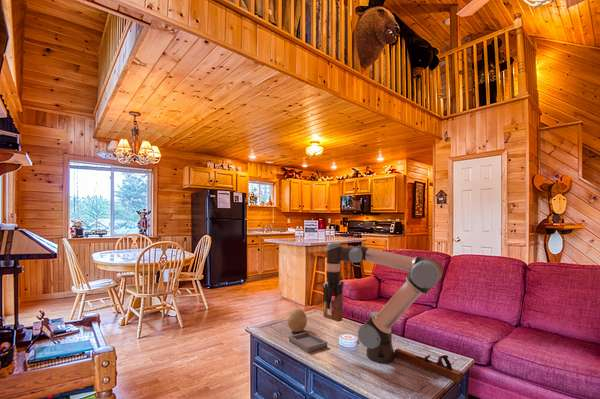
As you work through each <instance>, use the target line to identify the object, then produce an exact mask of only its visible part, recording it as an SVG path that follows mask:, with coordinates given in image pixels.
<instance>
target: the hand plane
mask: <svg viewBox="0 0 600 399" xmlns="http://www.w3.org/2000/svg"><path fill="white" fill-rule="evenodd" d="M394 353H395V359H398V360H401V361H402V362H405V363H408V364H411V365H412V366H415V367H417V368H421V369H423V370H426V371H428V372H430V373H432V374H436V375H437V376H441V377H442V378H445V379H448V380H451V381H453V382H456V383H459V384H461V383H462V382H463V380H464V373H463V371H461V370H457V369H456V368H453V367H452V363H451V361H450V360H449V359H448V358H449V355H446V354H442V355H439V356H438V359H437V362H436V361H433V360H431V359H429V358H431V355H430V354H428V355H426V356H424V357H423V356H420V355H418V354H414V353H412V352H408V351H406V350H403V349H401V348H398V347H397V348H395V349H394ZM442 359H443V360H442ZM443 361H444V363H443Z"/></svg>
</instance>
